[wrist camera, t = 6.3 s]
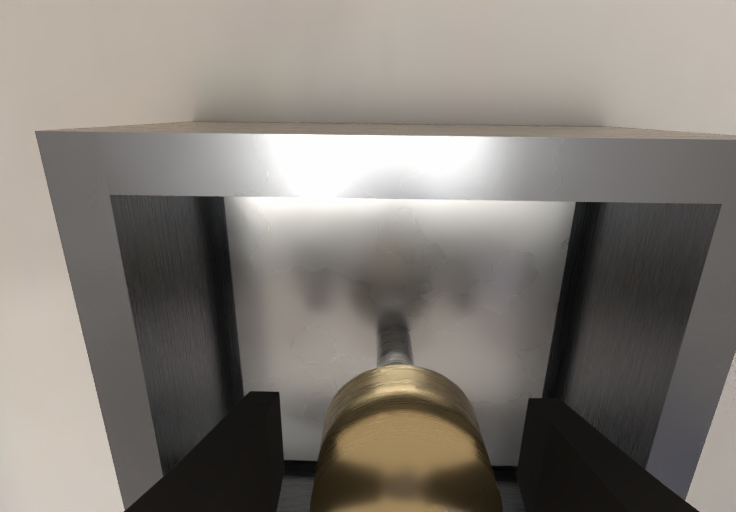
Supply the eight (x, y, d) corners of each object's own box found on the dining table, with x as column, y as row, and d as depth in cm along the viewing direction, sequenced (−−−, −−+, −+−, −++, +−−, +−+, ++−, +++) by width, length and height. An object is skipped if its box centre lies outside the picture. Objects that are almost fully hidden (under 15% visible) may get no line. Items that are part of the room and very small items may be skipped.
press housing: (606, 126, 12) (806, 140, 6) (544, 456, 16) (636, 644, 10) (192, 121, 12) (35, 131, 7) (231, 447, 16) (153, 628, 11)
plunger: (568, 181, 11) (778, 260, 5) (524, 452, 14) (627, 693, 8) (229, 177, 12) (71, 248, 6) (255, 445, 15) (170, 677, 9)
